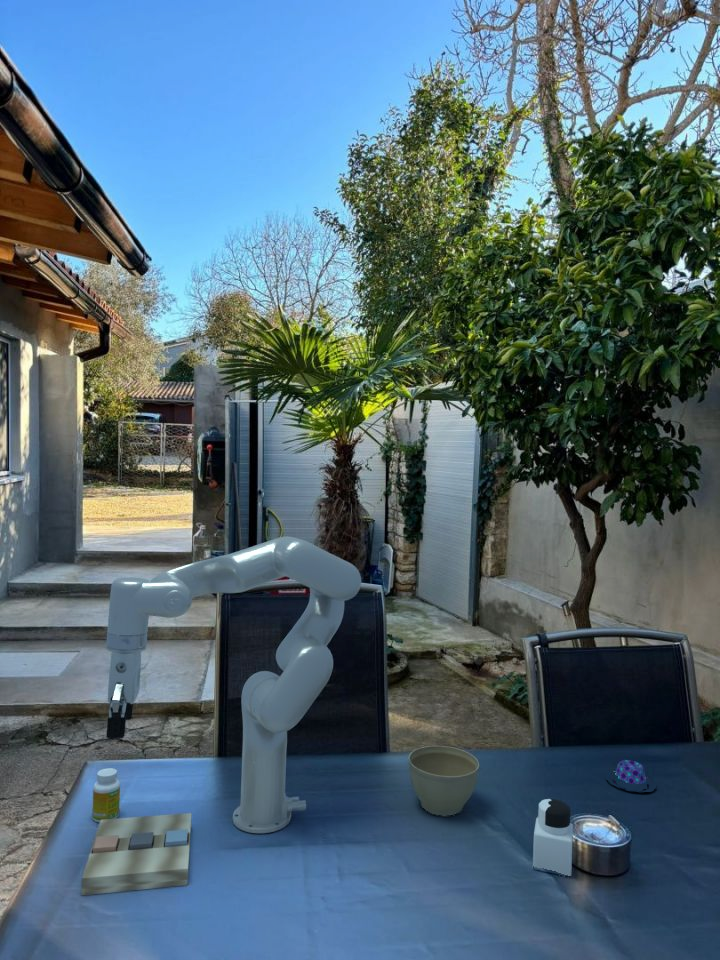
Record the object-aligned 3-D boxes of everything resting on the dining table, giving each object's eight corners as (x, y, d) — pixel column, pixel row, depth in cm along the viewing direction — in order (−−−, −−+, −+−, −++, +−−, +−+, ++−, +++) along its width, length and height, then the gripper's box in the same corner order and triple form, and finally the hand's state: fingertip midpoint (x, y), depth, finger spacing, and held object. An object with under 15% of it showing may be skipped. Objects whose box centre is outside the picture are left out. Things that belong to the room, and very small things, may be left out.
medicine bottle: (571, 858, 131) (573, 799, 131) (571, 878, 125) (573, 815, 125) (535, 850, 134) (537, 792, 134) (532, 870, 127) (534, 808, 127)
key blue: (187, 836, 130) (187, 829, 130) (186, 848, 126) (186, 840, 126) (166, 838, 129) (166, 831, 129) (165, 849, 125) (165, 842, 125)
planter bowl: (397, 815, 146) (399, 766, 146) (418, 785, 161) (420, 740, 161) (468, 832, 140) (470, 781, 140) (483, 799, 155) (485, 753, 155)
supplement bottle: (109, 825, 138) (111, 779, 138) (86, 821, 139) (88, 775, 139) (123, 812, 143) (125, 768, 143) (101, 809, 144) (103, 765, 144)
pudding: (665, 797, 160) (665, 775, 160) (615, 795, 160) (616, 773, 160) (644, 775, 172) (644, 755, 172) (598, 773, 172) (599, 753, 172)
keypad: (190, 827, 138) (191, 812, 138) (187, 885, 119) (188, 868, 119) (100, 834, 134) (100, 819, 134) (81, 895, 115) (81, 878, 115)
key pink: (118, 842, 127) (118, 834, 127) (115, 854, 123) (115, 846, 123) (96, 844, 126) (96, 836, 126) (92, 856, 122) (93, 848, 122)
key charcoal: (153, 839, 129) (153, 832, 129) (151, 851, 125) (151, 843, 125) (131, 841, 128) (132, 833, 128) (129, 853, 124) (129, 845, 124)
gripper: (140, 652, 121) (133, 745, 121) (151, 631, 138) (144, 713, 138) (98, 651, 120) (90, 745, 120) (114, 630, 137) (107, 712, 137)
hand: (119, 728), depth 129 cm, fingers open, 9 cm apart
